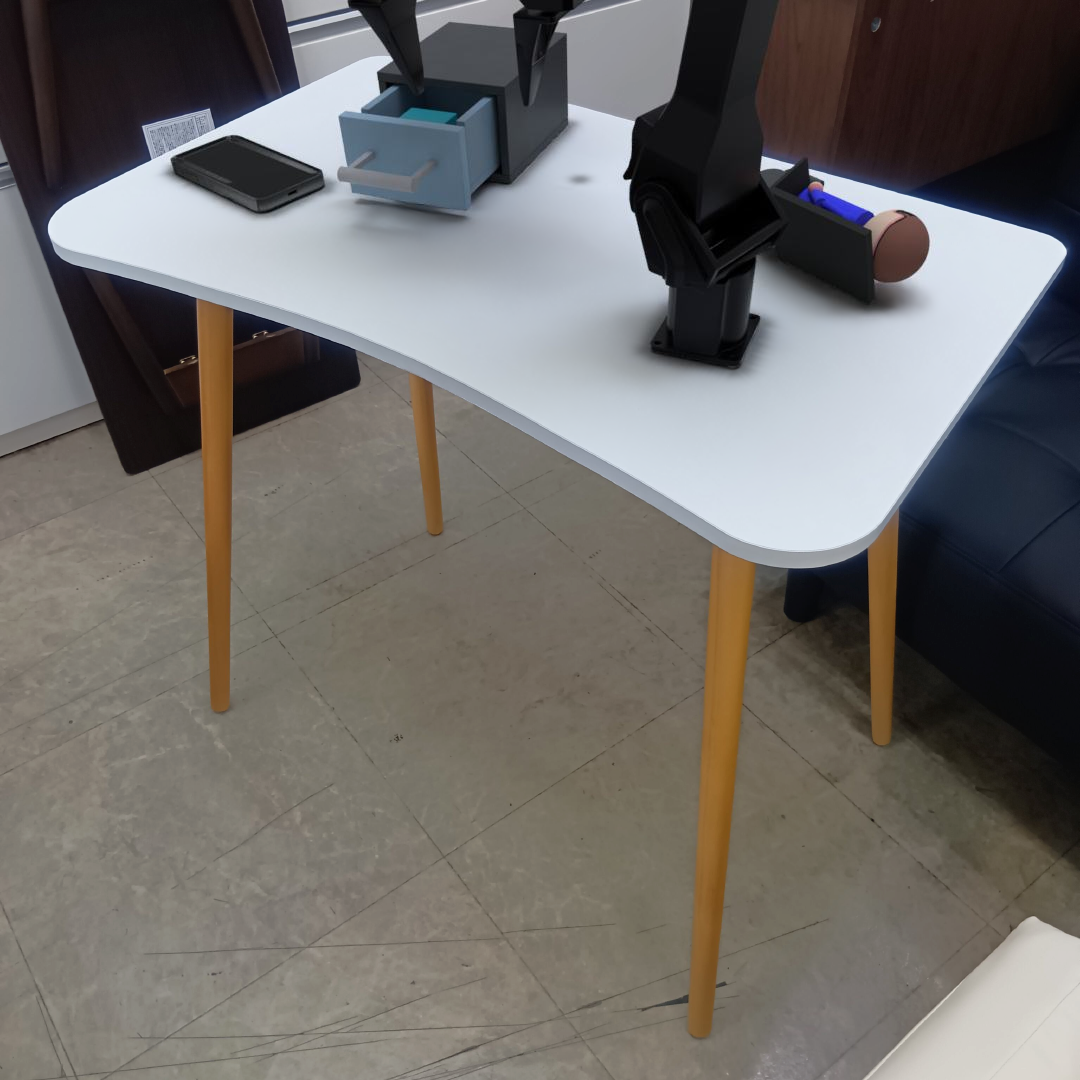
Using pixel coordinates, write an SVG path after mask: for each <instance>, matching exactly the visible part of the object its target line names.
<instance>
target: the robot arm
mask: <svg viewBox="0 0 1080 1080" xmlns="http://www.w3.org/2000/svg"><path fill="white" fill-rule="evenodd" d="M417 1H418V0H347V6H348V8H349V9H351V10H356V11H358V12H359V14H361V16H362V18H364V19H363V20H365V21H366V23H367V24H368V26H369V28H371V30H372V31H373V33H374V34H375V35H376V37H377V38H378V40H379V41H380V42H381V44H382V45H383V47H384V48H385V50H386V51H387V53H388V54H389V56H390V58H391V59H392V61H394V62H395V64H396V66H397V67H398V69H399V71H400V72H401V74H402V76H403V77H404V79H405V81H406V82H407V84H408V86H409V87H410V89H411V90H412V92H413V94H414V95H420V94H421V93H422V92H423V91H424V69H423V62H422V55H421V48H420V42H421V40H420V35H419V29H418V21H417V13H416V10H417V9H416V8H417ZM518 1H519V2H520V3H521V5H522V7H521V8H519V9H518V10H517V11H515V12H514V13H513V14H512V22H513V23H512V24H513V28H514V34H515V44H516V55H517V65H518V76H519V87H520V92H521V97H522V101H523V105H524V106H525V107H529V106H530V105H531V104H533V102H534V99H535V96H536V92H537V88H538V85H539V81H540V77H541V74H542V70H543V66H544V63H545V59H546V55H547V52H548V48H549V45H550V42H551V39H552V37H553V34H554V32H556V29H557V26H558V24H559V22H560V20H561V19H562V18H564V17H565V16H566V15H567V14H569V13H570V12H571V11H574V10H575V9H577V8H578V7H579V6H580V5H581V4H583V3H584V2H585V1H586V0H518ZM779 2H780V0H691V2H690V3H691V4H690V8H689V13H688V14H689V15H688V20H687V25H686V30H685V35H684V40H683V46H682V51H681V55H680V62H679V67H678V73H677V77H676V83H675V87H674V90H673V94H672V96H671V98H670V99H669V101H667V102H664V103H663V104H661V105H659V106H657V107H655V108H653V109H651V110H648V111H647V112H645V113H642V114H640V115H639V116H637V117H635V120H634V124H633V127H632V130H631V149H630V150H631V152H630V158H629V161H628V166H627V168H626V170H625V171H624V172H623V174H622V178H623V180H624V181H630V182H629V186H628V187H629V188H628V201H629V206H630V211H631V212H632V213H633V214H634V216H635V220H636V226H637V228H638V229H637V230H638V233H639V237H640V242H641V245H642V249H643V253H644V258H645V262H646V266H647V270H648V271H649V272H650V273H652V274H655V275H657V276H659V277H661V278H662V280H663V281H664V285H665V286H667V287H668V295H667V296H668V298H667V312H666V313H667V314H666V316H665V317H664V319H663V321H662V323H661V324H660V326H659V328H658V329H657V331H656V332H655V335H654V336H653V337H652V339H651V341H650V350H651V351H652V352H655V353H661V354H664V355H670V356H675V357H680V358H685V359H690V360H696V361H701V362H706V363H711V364H716V365H721V366H726V367H732V368H737V367H740V366H741V365H742V363H743V361H744V358H745V357H746V354H747V352H748V351H749V347H750V346H751V344H752V342H753V339H754V337H755V335H756V333H757V330H758V328H759V326H760V324H761V316H760V315H759V314H756V313H752V312H750V311H751V304H752V297H753V296H752V295H753V289H754V282H755V281H754V280H755V273H756V265H757V256H758V255H760V254H762V253H763V252H765V251H766V250H768V249H769V248H773V247H775V245H776V244H777V243H778V241H779V239H780V237H781V236H782V234H783V232H784V230H785V228H786V226H787V224H788V220H787V218H786V216H785V214H784V213H783V211H782V209H781V208H780V206H779V204H778V202H777V201H776V199H775V197H774V196H773V194H772V192H771V191H770V189H769V187H768V186H767V184H766V182H765V181H764V179H763V177H762V176H761V174H760V171H761V168H762V159H763V149H764V143H765V142H764V141H765V140H764V133H763V129H762V125H761V121H760V118H759V113H758V110H757V105H756V94H757V89H758V85H759V81H760V77H761V74H762V69H763V67H764V62H765V58H766V54H767V50H768V46H769V42H770V38H771V34H772V30H773V27H774V23H775V19H776V15H777V11H778V6H779Z"/></svg>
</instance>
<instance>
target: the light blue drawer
mask: <svg viewBox="0 0 1080 1080" xmlns="http://www.w3.org/2000/svg"><path fill="white" fill-rule="evenodd" d="M411 108H419V109H426V110H434V111H442V112H450V113H456V114H457V121H456V125H457V126H455V125H448V124H440V123H433V122H425V121H418V120H410V119H402V118H399V117H400V116H402V115H403V114H404V113H405V112H407V111H408V110H409V109H411ZM338 122H339V128H340V133H341V139H342V146H343V150H344V155H345V161H346V166H344V165H343V166H342V165H341V166H339V167H338V169H337V171H336V176H337V179H338V181H339V182H341V183H349V185H350V189H351V190H350V191H351V193H352V194H357V195H363V196H370V197H376V198H381V199H389V200H394V201H401V202H407V203H411V204H412V203H413V204H419V205H424V206H425V205H426V206H432V207H437V208H438V207H439V208H443V209H451V210H457V211H461V212H467V211H468V210H469V209H470V208H471V207H472V204H473V203H472V194H473V193H474V192H475V191H476V190H477V189H478V188H479V187H481V185H482V184H483V183H484V182H485V181H487V180H486V179H487V178H488V177H489V176H490V175H491V174H492V173H493V172H494V171H495V170H496V169H497V168H498V167H499V166H500V165H501V149H500V133H499V118H498V102H497V95H491V94H483V93H475V92H466V91H458V90H450V89H441V88H433V87H425V86H424V91H423V92H422V93H421V94H420V95H414V94H413V92H412V90H411V89H410V87H409V86H408V84H400V83H395V84H394V85H392V86H391V87H390V88H388V89H387V90H386V91H384V92H383V93H381V94H380V93H379V94H378V95H377V96H375V98H373V99H372V100H371V101H369V102H368V103H366V104H365V105H364V106H362V107H361V108H360V112H358V111H357V112H356V111H348V110H344V111H343V112H342V113H340V114H339V115H338Z"/></svg>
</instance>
